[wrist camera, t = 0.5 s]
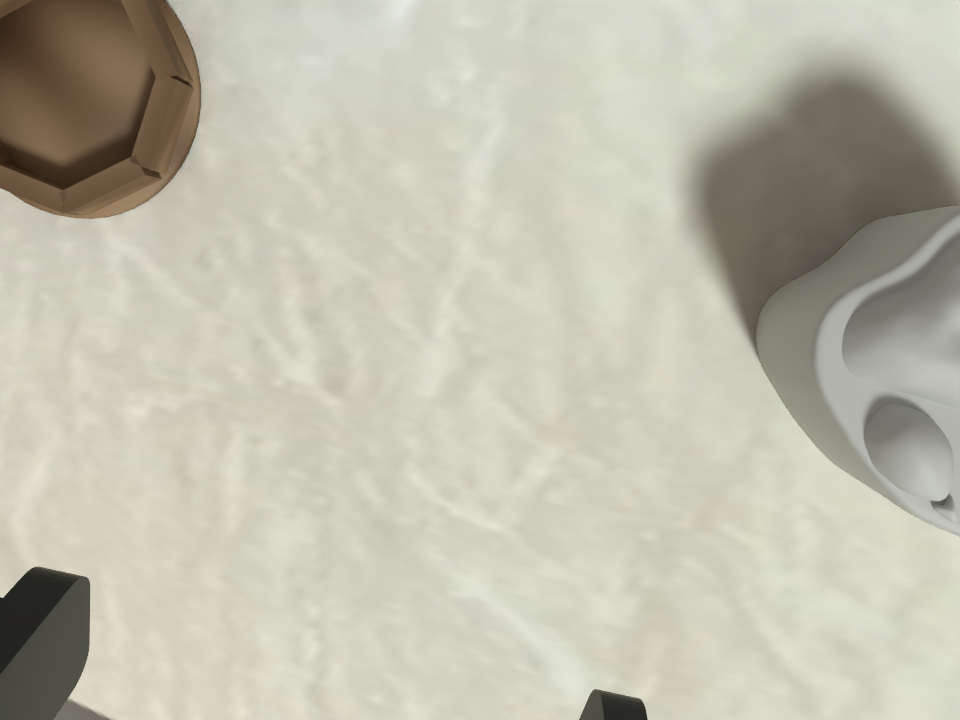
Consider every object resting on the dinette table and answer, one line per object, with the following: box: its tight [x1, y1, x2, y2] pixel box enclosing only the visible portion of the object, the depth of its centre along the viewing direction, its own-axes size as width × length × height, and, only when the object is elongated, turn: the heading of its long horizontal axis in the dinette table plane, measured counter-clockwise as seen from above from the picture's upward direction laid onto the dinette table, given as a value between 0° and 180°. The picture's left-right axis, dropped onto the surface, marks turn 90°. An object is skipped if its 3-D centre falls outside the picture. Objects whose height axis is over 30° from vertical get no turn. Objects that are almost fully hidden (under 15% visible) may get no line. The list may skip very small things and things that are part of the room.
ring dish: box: [0, 0, 201, 219], centre depth 34 cm, size 12×12×2 cm
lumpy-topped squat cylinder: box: [756, 205, 960, 536], centre depth 29 cm, size 10×13×9 cm
